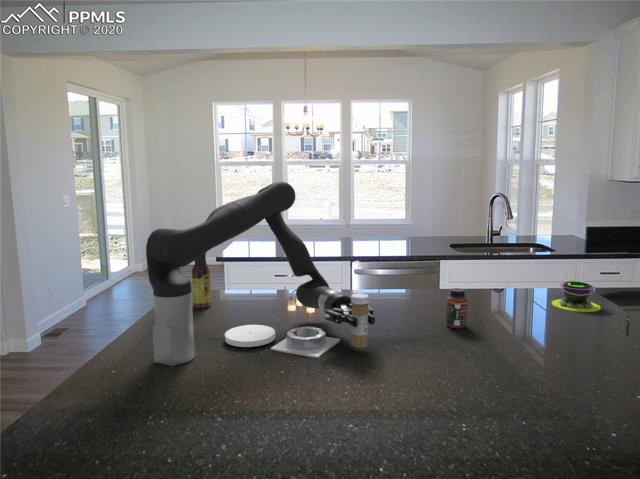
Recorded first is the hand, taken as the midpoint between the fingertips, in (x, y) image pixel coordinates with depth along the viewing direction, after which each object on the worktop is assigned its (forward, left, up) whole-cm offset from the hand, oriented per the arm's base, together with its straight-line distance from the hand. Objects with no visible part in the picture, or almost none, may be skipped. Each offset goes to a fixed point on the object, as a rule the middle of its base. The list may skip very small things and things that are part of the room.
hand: (364, 322), depth 127 cm
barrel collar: (0, +17, -9) cm, 19 cm away
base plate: (0, +17, -9) cm, 19 cm away
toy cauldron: (+72, -50, -9) cm, 88 cm away
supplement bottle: (+33, -17, -9) cm, 38 cm away
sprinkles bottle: (+2, +2, -7) cm, 8 cm away
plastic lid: (-3, +33, -9) cm, 34 cm away
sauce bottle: (+18, +67, -9) cm, 70 cm away
